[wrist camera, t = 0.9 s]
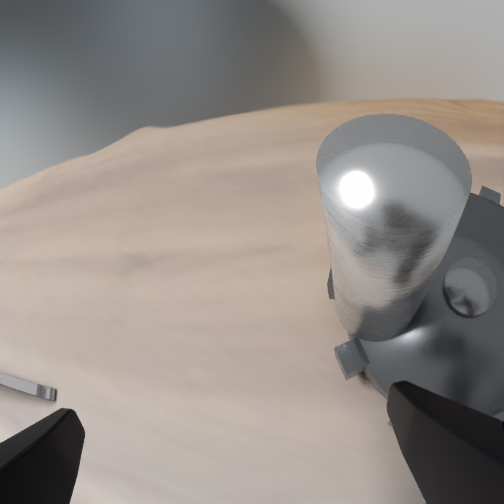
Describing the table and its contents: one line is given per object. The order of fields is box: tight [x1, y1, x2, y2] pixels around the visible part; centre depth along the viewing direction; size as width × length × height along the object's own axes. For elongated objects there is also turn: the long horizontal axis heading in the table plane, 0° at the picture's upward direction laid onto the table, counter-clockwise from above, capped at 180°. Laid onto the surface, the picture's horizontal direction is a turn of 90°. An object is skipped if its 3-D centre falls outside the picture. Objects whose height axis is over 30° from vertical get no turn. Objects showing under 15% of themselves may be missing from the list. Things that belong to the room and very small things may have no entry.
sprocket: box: [316, 114, 504, 426], centre depth 10 cm, size 15×14×11 cm
